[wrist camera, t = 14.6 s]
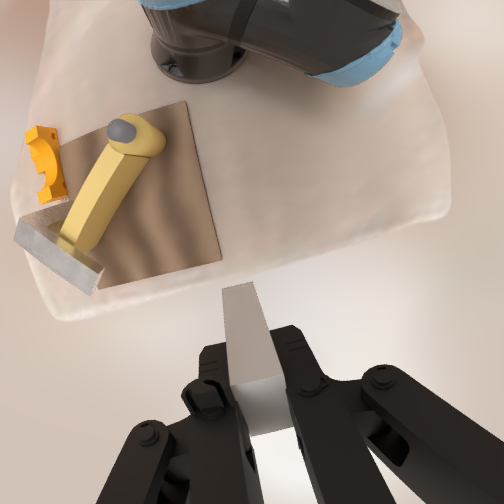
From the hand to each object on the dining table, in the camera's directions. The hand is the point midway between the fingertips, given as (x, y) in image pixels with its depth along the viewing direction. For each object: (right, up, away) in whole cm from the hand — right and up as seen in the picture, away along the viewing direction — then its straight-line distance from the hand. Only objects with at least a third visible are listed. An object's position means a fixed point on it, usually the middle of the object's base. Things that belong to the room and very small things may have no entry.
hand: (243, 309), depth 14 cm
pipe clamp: (-33, +17, +23) cm, 44 cm away
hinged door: (-19, +12, +24) cm, 33 cm away
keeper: (-23, +7, +27) cm, 36 cm away
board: (-18, +11, +26) cm, 34 cm away
